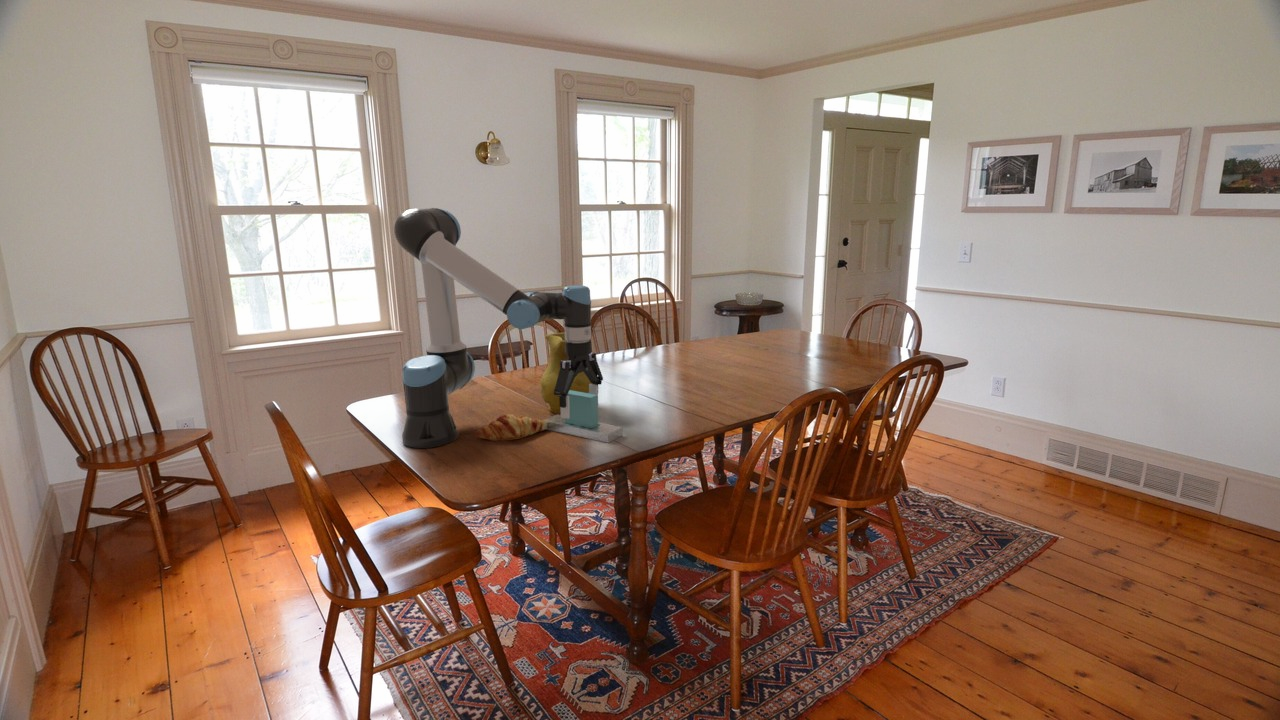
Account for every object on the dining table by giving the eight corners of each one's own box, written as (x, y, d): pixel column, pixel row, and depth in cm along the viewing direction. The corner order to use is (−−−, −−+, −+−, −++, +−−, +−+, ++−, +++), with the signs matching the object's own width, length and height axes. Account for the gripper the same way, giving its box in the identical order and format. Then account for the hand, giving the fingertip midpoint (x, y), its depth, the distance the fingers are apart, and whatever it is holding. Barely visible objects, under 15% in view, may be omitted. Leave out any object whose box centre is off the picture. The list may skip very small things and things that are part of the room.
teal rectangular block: (592, 435, 187) (590, 397, 185) (564, 430, 193) (563, 392, 190) (598, 432, 190) (597, 394, 187) (571, 426, 195) (570, 390, 193)
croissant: (544, 438, 197) (540, 412, 199) (553, 432, 188) (549, 405, 190) (474, 448, 188) (470, 421, 190) (480, 443, 179) (476, 414, 181)
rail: (608, 442, 182) (607, 434, 182) (542, 428, 195) (542, 420, 194) (622, 435, 188) (621, 427, 187) (557, 421, 201) (557, 414, 200)
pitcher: (529, 411, 210) (529, 335, 205) (562, 399, 226) (563, 328, 221) (573, 420, 202) (575, 341, 197) (604, 406, 219) (606, 333, 214)
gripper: (560, 349, 173) (563, 425, 178) (613, 334, 193) (614, 402, 198) (539, 346, 177) (542, 420, 182) (593, 331, 197) (594, 398, 202)
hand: (579, 411), depth 190 cm, fingers open, 13 cm apart
